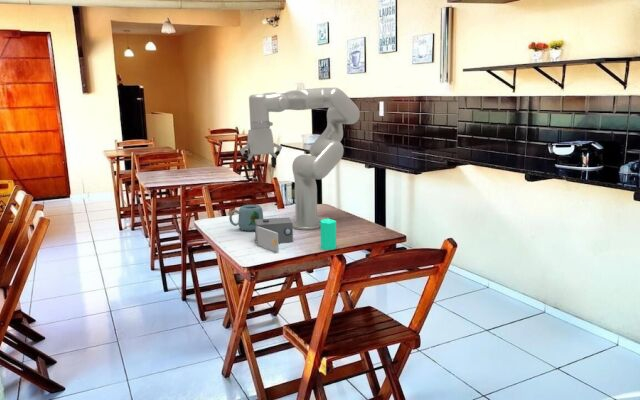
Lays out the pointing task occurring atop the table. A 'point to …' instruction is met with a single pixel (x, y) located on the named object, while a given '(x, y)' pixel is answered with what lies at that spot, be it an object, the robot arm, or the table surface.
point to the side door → (267, 238)
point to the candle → (328, 234)
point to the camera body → (277, 228)
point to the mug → (247, 216)
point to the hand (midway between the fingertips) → (262, 168)
